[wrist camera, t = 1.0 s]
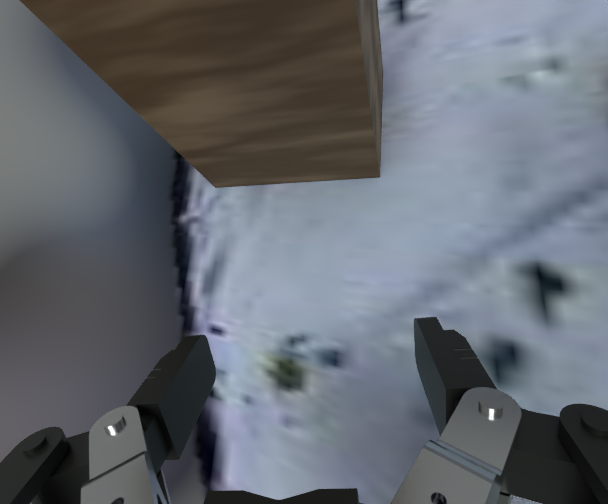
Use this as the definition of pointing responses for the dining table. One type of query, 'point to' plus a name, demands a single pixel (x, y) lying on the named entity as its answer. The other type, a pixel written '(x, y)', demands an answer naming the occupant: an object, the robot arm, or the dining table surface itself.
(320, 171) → the stand
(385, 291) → the dining table surface
